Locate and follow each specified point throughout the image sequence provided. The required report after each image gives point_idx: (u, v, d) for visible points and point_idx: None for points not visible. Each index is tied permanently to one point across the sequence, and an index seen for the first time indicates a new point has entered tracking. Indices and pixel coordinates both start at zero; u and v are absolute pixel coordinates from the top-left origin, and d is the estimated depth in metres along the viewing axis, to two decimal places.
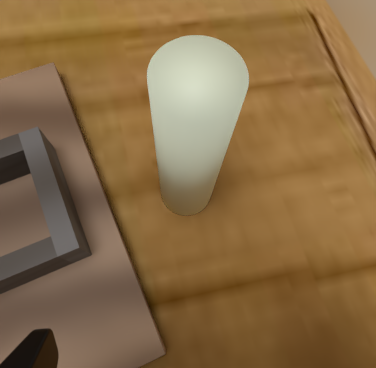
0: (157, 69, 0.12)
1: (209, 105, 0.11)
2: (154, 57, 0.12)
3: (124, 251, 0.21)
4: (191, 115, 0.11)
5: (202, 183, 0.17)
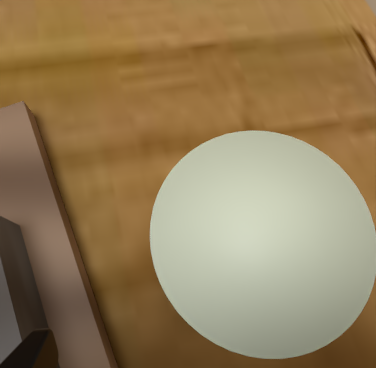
0: (173, 216, 0.05)
1: (295, 313, 0.05)
2: (166, 185, 0.05)
3: None
4: (256, 343, 0.05)
5: None
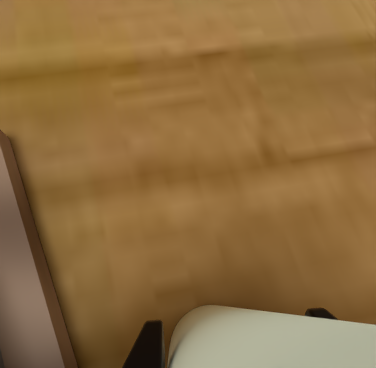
0: None
1: None
2: None
3: None
4: None
5: None
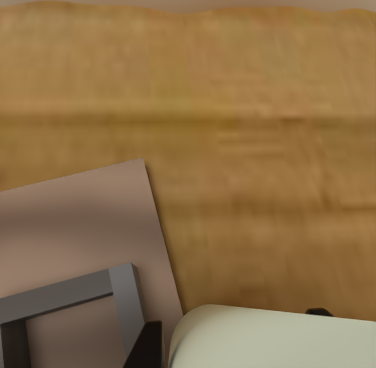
0: None
1: None
2: None
3: None
4: None
5: None
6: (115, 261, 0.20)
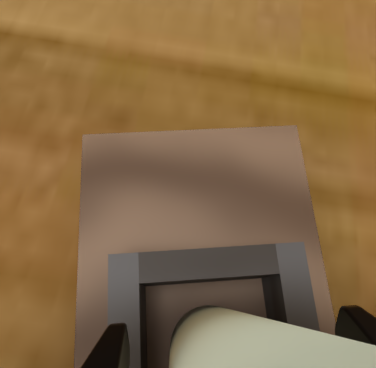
0: None
1: None
2: None
3: None
4: None
5: None
6: (256, 239, 0.17)
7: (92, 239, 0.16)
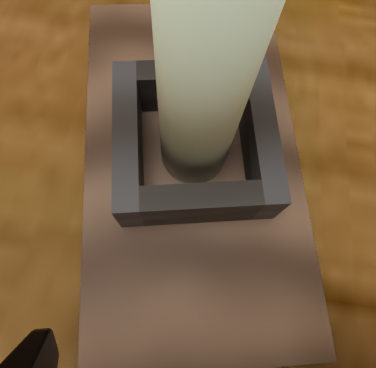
0: None
1: None
2: None
3: (310, 227, 0.18)
4: None
5: (221, 123, 0.12)
6: None
7: (99, 78, 0.20)
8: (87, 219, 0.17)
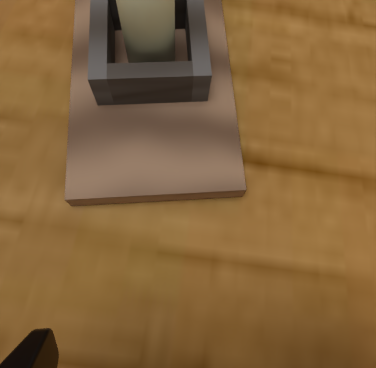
0: None
1: None
2: None
3: (234, 107, 0.24)
4: None
5: (153, 6, 0.19)
6: None
7: (83, 7, 0.27)
8: (73, 100, 0.24)
